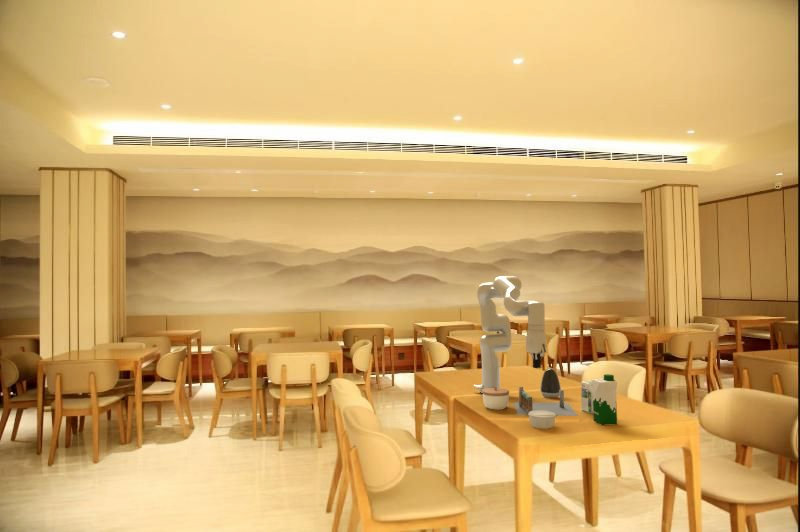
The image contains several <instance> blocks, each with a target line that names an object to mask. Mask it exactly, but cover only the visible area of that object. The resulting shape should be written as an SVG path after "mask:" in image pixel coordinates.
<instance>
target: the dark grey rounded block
mask: <svg viewBox="0 0 800 532" xmlns="http://www.w3.org/2000/svg"><path fill="white" fill-rule="evenodd" d="M539 388H540V390H539V391H540V393H541V395H542V396H543V397H544V398H545V399H547V398H548V399H552V398H553V399H558V398H560V396H559V390H562V389H561V382H560V378H559V377H558V374H557V372H556V370H555V369H553V368H552V367H550V368H547V369H545V371H544V373H543V374H542V377H541V382H540V387H539Z"/></svg>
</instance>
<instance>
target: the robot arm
mask: <svg viewBox="0 0 800 532" xmlns="http://www.w3.org/2000/svg"><path fill="white" fill-rule="evenodd" d="M521 288H522V281H521V280H520V278H519V276H517V275H516V276H515V275H502V276H501V275H500V276H497V277H495V279H493V282H484V283H481V284H480V285H479V286H478V288H477V290H476V291H477V292H476V295H477V300H478V303H479V309H480V310H479V311H480V323H481V329H482V330H483V332H487V333H488V334H484V335H482V336H481V337H480V339H479V347H480V353H481V354H480V355H481V384H478V385H477V384H473V389H476V390H479V393H480V392H481V393H482V390H483V389H486V388H494V386H497V388H501V369H500V363H501V361H500V358H499V356H498V355H497V354H496V353H498V352H507V351H509V350H510V349H511V348H512V330H511V328H512V327H511V321H510V318H509V317H508V315H507V314H504V313H497V306H496V304H495V302H494V300H493V299H503V306H504V308H505V310H506V311H507V312H508V313H509V314H510V315H511V316H514V317H527V329H528V330H527V332H526V337H525V349H526V351H527V352H528V354H530V355H531V358H532V368H533V369H534V368H535V369H540V368H541V366H542V365H541V364H542V363H541V362H542V358H543V357H545V355H546V353H547V337H546V332H545V331H546V324H545V323H546V321H545V319H546V317H545V316H546V313H545V312H546V311H545V303H544V302H543V301H537V300H533V299H532V300H528V299H527V300H526V299H525V300H523V299H521V300H518V299H519V298H520V296H521ZM492 332H497V333H493V334H492ZM498 332H499V333H498ZM489 333H490V334H489ZM481 393H480V394H481Z"/></svg>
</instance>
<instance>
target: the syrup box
mask: <svg viewBox="0 0 800 532" xmlns="http://www.w3.org/2000/svg"><path fill="white" fill-rule="evenodd" d="M580 389H581V390H580V392H581V394H580V395H581V396H580V397H581V412H584V413H587V414H593V387H592V380H583V381H581V382H580Z"/></svg>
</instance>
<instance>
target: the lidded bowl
mask: <svg viewBox="0 0 800 532" xmlns="http://www.w3.org/2000/svg"><path fill="white" fill-rule="evenodd" d="M482 393H483V394H482V401H483V404H484V406H485V408H487V409H489V410H498V411H499V410H503V409H506V408H507V406H508V405H509V400H510V390H509V389H506V388H502V387H500V388H497V386H494V388H486V389H483V390H482Z"/></svg>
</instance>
